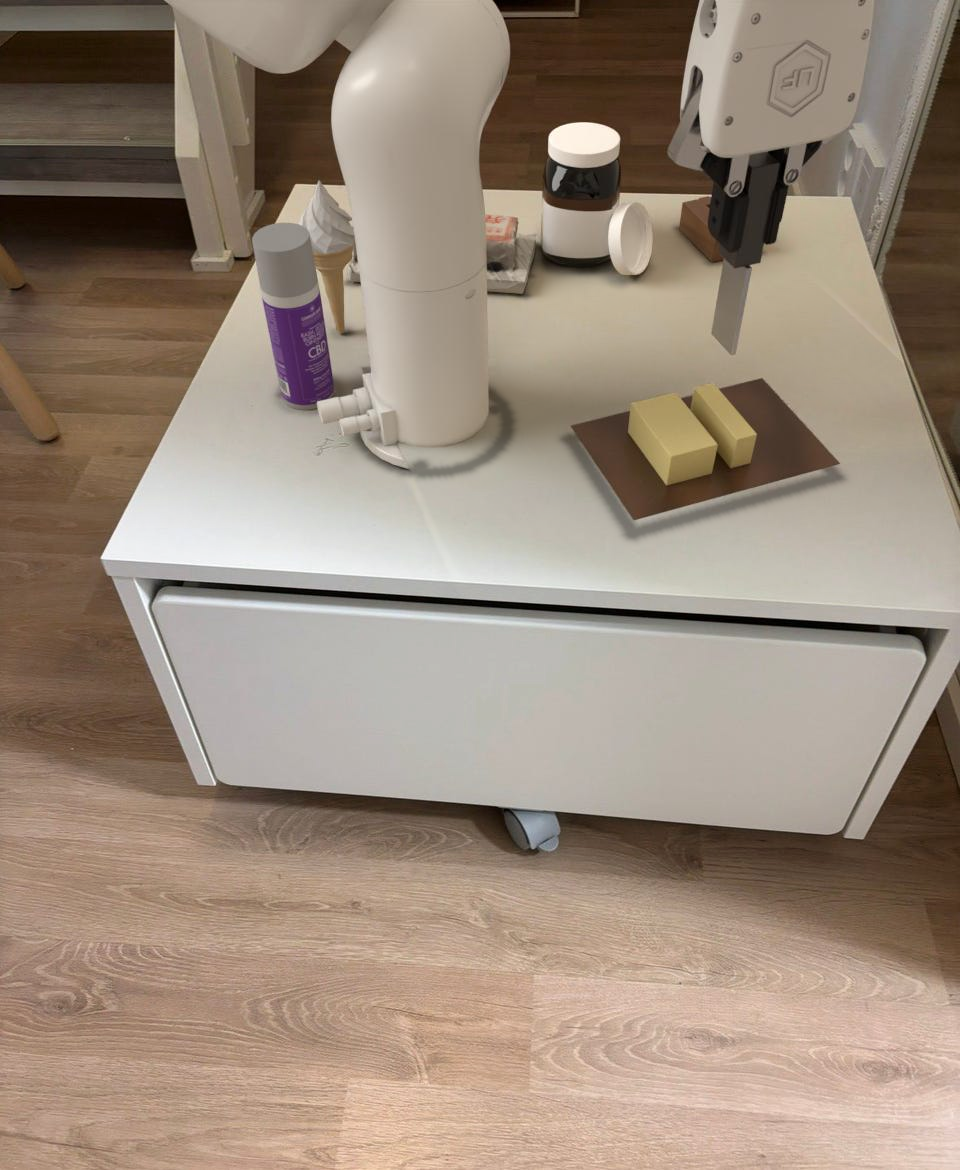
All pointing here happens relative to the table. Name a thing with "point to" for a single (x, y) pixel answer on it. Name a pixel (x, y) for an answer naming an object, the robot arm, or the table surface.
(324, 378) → the container
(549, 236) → the spread jar
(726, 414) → the butter slice
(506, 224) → the packaged product
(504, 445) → the table surface
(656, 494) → the board
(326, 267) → the ice cream cone
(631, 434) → the butter block
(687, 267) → the table surface
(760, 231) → the knife
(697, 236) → the knife block
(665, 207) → the table surface
